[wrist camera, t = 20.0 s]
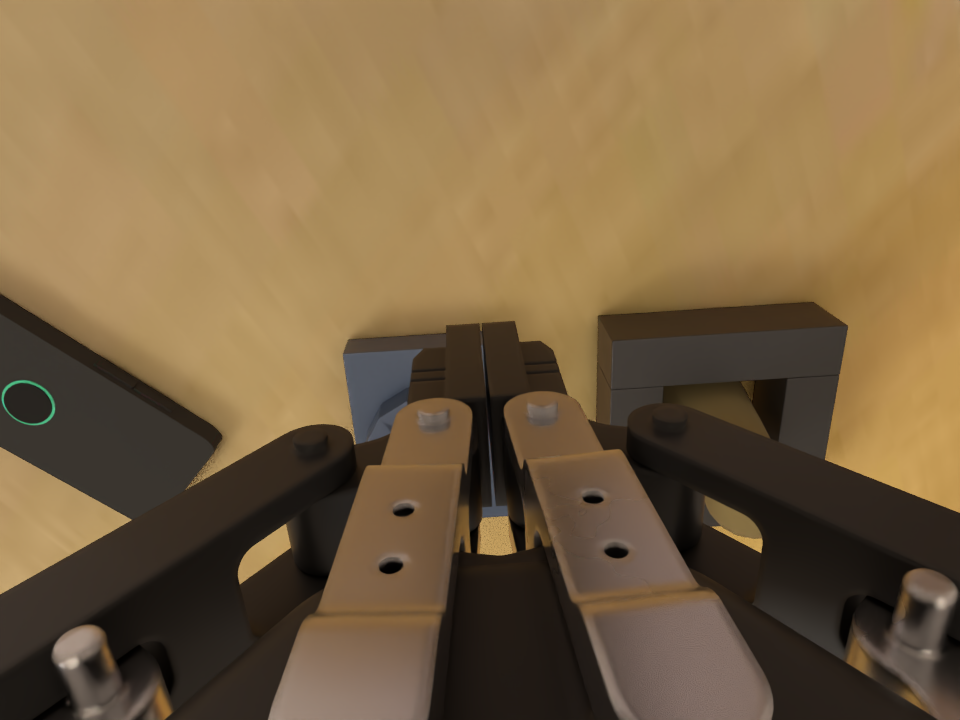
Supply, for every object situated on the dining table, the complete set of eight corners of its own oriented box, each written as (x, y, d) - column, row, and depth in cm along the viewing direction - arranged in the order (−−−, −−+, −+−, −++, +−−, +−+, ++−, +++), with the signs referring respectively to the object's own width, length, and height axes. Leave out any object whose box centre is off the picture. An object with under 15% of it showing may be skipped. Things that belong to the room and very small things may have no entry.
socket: (598, 315, 41) (612, 340, 37) (813, 301, 41) (848, 325, 38) (594, 496, 46) (607, 534, 43) (786, 483, 47) (814, 519, 43)
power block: (347, 339, 41) (337, 367, 38) (498, 329, 41) (502, 356, 38) (371, 505, 46) (364, 544, 42) (505, 496, 46) (510, 534, 43)
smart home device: (-117, 241, 36) (218, 446, 42) (-93, 234, 38) (227, 432, 43) (-174, 355, 38) (150, 534, 44) (-150, 343, 40) (161, 517, 46)
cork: (758, 417, 44) (847, 523, 34) (673, 460, 46) (736, 576, 35) (721, 344, 42) (806, 435, 32) (633, 391, 43) (688, 493, 33)
